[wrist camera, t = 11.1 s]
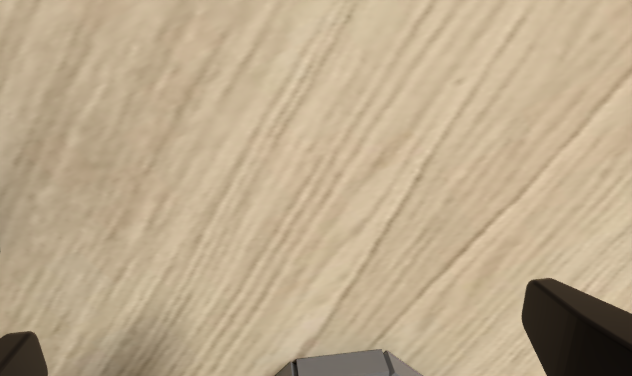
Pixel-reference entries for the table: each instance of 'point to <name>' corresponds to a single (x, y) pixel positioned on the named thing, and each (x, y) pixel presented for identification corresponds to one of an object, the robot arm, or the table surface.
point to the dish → (350, 365)
